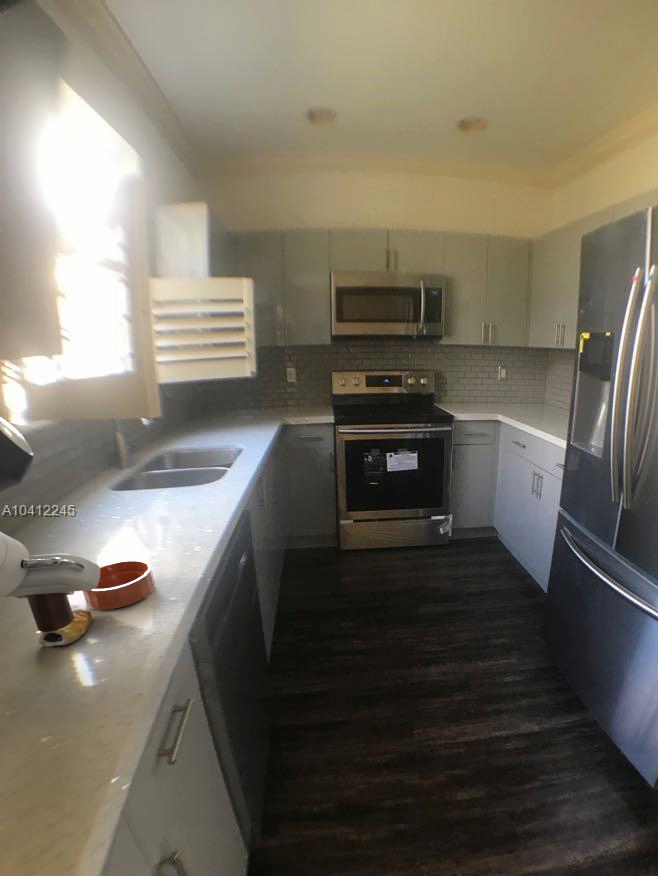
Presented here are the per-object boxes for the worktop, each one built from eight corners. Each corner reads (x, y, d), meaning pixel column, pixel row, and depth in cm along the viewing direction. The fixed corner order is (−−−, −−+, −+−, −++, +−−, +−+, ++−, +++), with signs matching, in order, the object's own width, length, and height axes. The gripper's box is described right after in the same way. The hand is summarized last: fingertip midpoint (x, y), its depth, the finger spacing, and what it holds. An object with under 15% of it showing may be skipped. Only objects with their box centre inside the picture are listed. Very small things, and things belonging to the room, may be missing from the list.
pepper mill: (33, 635, 70) (10, 570, 66) (43, 618, 74) (22, 556, 70) (69, 628, 71) (49, 564, 67) (77, 611, 76) (58, 551, 72)
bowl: (80, 617, 90) (73, 596, 88) (94, 586, 102) (88, 566, 100) (152, 603, 94) (147, 582, 92) (157, 574, 106) (153, 555, 104)
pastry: (69, 618, 90) (64, 601, 89) (103, 617, 90) (98, 600, 89) (36, 648, 82) (29, 630, 80) (73, 648, 82) (68, 630, 80)
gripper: (74, 536, 61) (121, 567, 74) (-95, 548, 59) (-17, 577, 72) (66, 582, 59) (116, 606, 71) (-111, 596, 56) (-27, 617, 69)
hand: (48, 591), depth 71 cm, fingers closed on pepper mill, 5 cm apart
